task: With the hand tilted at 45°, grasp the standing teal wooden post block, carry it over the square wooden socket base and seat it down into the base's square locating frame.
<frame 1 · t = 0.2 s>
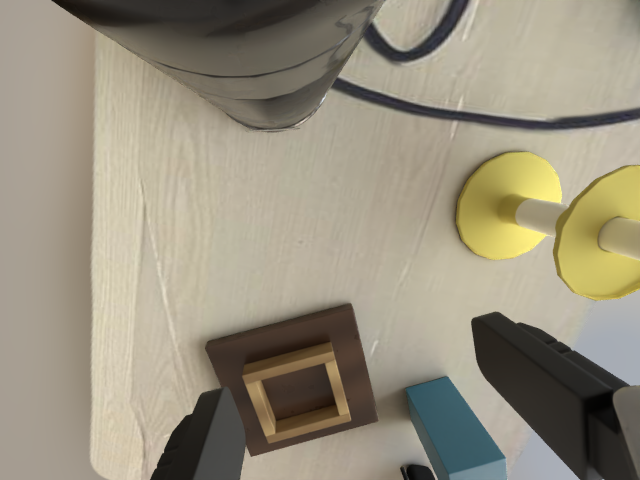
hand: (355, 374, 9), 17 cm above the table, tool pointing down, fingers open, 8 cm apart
wireless earbuds: (414, 468, 36), on the table
candle: (506, 207, 27), on the table
square wooden socket base: (298, 380, 30), on the table
post block: (429, 399, 33), on the table
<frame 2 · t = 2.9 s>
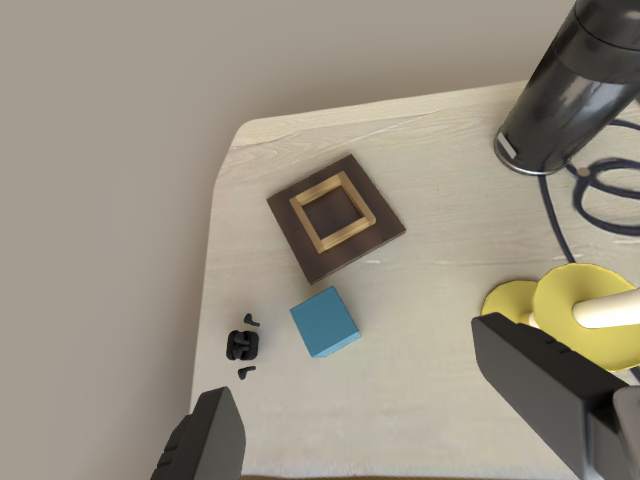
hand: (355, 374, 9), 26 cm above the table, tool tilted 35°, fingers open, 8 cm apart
wireless earbuds: (250, 345, 36), on the table
candle: (528, 324, 33), on the table
square wooden socket base: (332, 216, 41), on the table
post block: (333, 328, 36), on the table
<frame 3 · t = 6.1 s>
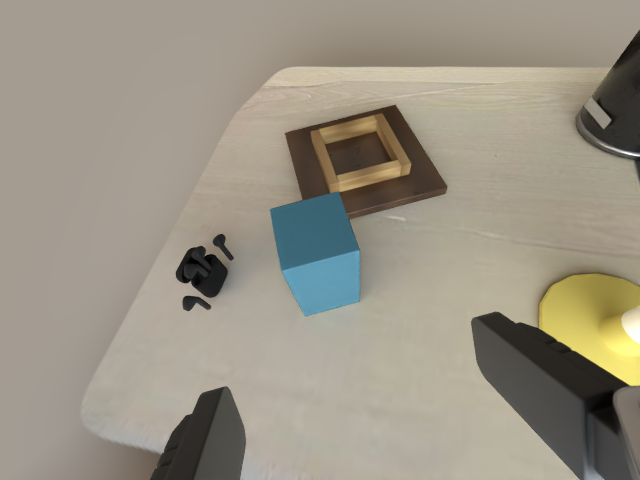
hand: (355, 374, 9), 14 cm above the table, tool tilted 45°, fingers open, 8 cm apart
wireless earbuds: (214, 283, 28), on the table
candle: (613, 337, 22), on the table
square wooden socket base: (357, 163, 33), on the table
post block: (325, 283, 26), on the table
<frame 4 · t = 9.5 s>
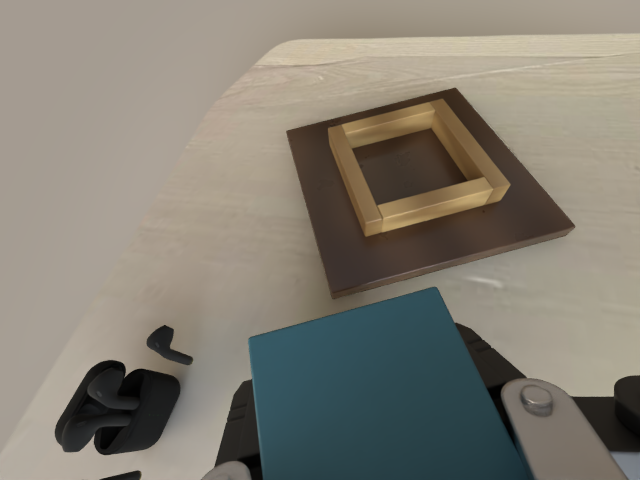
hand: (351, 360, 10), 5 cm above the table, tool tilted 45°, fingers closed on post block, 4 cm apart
wireless earbuds: (157, 408, 15), on the table
square wooden socket base: (403, 180, 21), on the table
post block: (366, 421, 14), on the table, touching gripper
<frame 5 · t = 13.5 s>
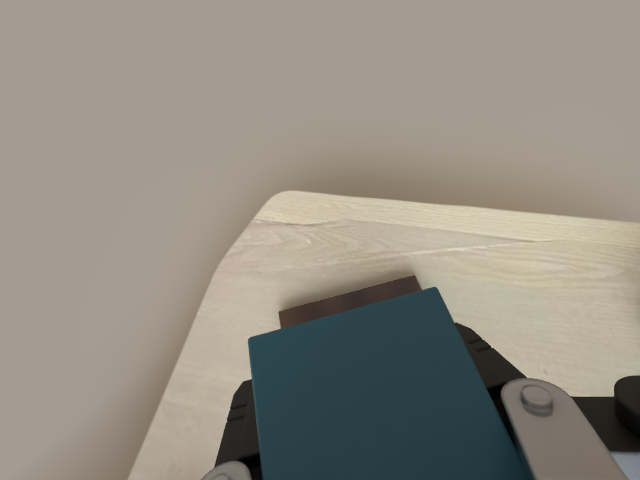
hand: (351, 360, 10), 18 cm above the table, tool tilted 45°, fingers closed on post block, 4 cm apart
square wooden socket base: (369, 368, 26), on the table
post block: (366, 421, 14), point 13 cm above the table, touching gripper
when the fingers open (6 cm above the table, at t = 17.6 s): post block stays where it is, resting on square wooden socket base.
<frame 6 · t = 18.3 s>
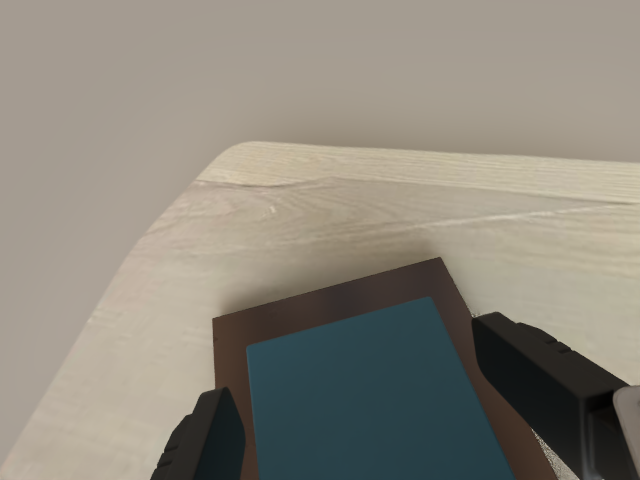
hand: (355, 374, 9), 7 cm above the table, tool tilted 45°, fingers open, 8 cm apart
square wooden socket base: (364, 421, 15), on the table
post block: (363, 424, 14), point 1 cm above the table, touching square wooden socket base
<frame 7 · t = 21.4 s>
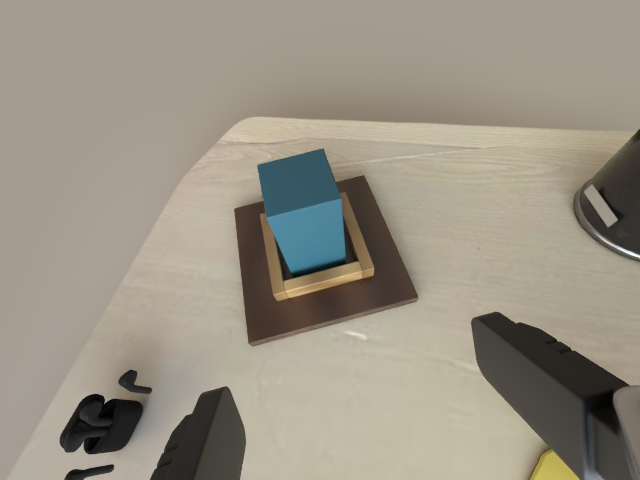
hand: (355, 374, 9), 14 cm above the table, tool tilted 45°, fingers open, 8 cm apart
wireless earbuds: (127, 422, 22), on the table
square wooden socket base: (315, 252, 28), on the table
post block: (313, 248, 27), point 1 cm above the table, touching square wooden socket base
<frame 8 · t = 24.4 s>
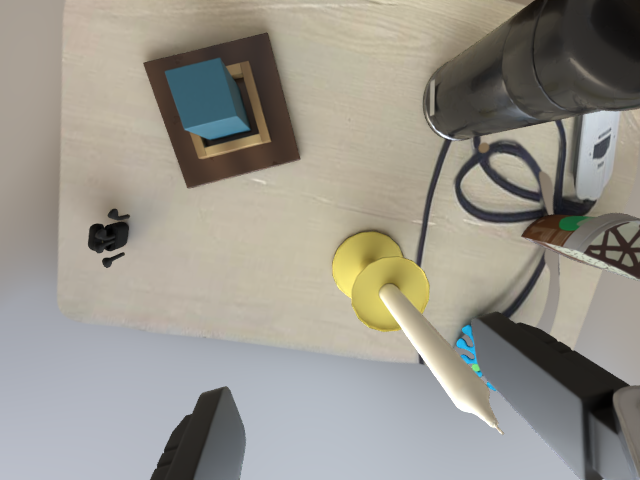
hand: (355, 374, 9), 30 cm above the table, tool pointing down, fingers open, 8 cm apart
food container: (557, 228, 42), on the table
wireless earbuds: (120, 231, 37), on the table
candle: (367, 266, 41), on the table
square wooden socket base: (227, 115, 35), on the table
blue branched piece: (476, 340, 45), on the table
post block: (225, 114, 34), point 1 cm above the table, touching square wooden socket base
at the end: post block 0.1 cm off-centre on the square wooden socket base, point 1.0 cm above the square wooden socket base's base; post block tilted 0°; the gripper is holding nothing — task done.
